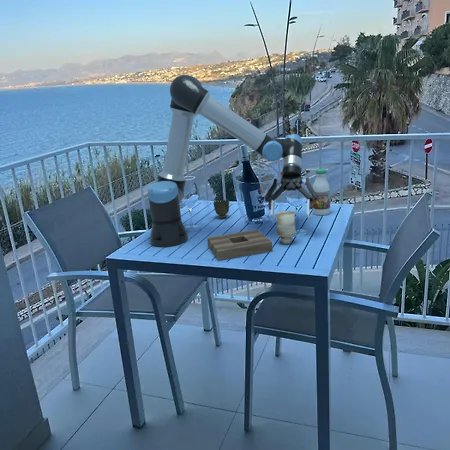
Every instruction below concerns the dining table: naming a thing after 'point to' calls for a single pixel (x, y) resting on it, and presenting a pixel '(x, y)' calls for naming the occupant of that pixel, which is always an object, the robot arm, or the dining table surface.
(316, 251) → the dining table surface
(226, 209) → the cup
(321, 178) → the milk bottle
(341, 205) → the dining table surface
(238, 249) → the walnut board
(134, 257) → the dining table surface
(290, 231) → the ash peg
